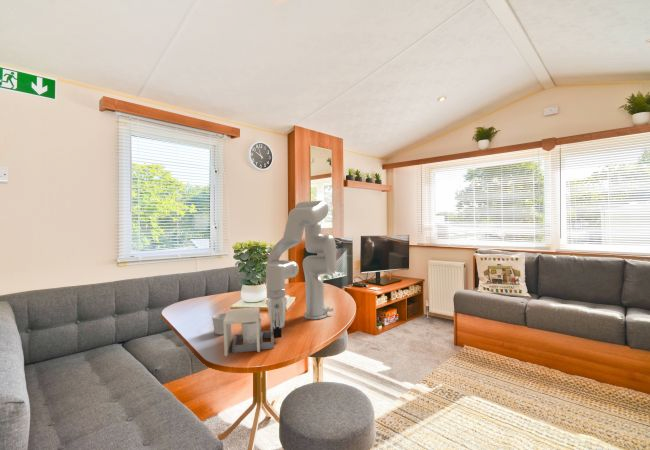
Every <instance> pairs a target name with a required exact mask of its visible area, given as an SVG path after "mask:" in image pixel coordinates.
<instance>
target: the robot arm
mask: <svg viewBox="0 0 650 450" xmlns="http://www.w3.org/2000/svg"><path fill="white" fill-rule="evenodd" d="M294 207H295V208H293V209H291V210H290V211H289V213H288V216H287V220H286V224H285V229H284V232H283V236H282V237H281V238H280V240H279V241H278V242H277V243H276V244H274V246H273V247H272V248H271V250H270V252H269V254H268V257H267V262H266V267H265V280H266V284H265V285H266V298H267V299H270V310H271V318H272V323H274V327H273V337H274V339H280V338H282V328H281V323H280V322H284V307H283V298H284V297H285V298H286V286H285V285H286V283H285V282H286V281H285V280H286V279H287V280H288V279H293V278H295V277H296V276H297V275H298V274H299V269H300V268H299V264H298V263H297V262H295V261H294V260H283V259H282V260H280V258H281V257H282V255H283V254H284V253H285V252H287V251H289V249H292V248H294V247H295V246H297V245H299V244H301V243H302V239H303V234H304V243H305V244H304V246H305V251H306V252H307V253H310V254H313V255H308V256H306V257H304V259H303V260H302V269H303V274H304V284H305V288H304V289H305V310H306V311H305V312H304V313H303V315H302V316H303V318H305V319H306V320H313V321H314V320H322V319H325V318H326V317H328V312H330V313H333V312H334V307H330V306H328V307H327V306H325V288H324V287H325V285H324V279H323V278H322V276H321V275H324V276H325V275H326V276H327V275H331V276H332V275H333V274H334V273H335V272H336V270H337V244H336V239H335V237H334V236H333V235H331V234H322V225H321V223H320V222H322V221H323V220H324V219H325V218H326V217H327V216H328V213H329V205H328V203H327V202H326V201H325V200H311V201H310V200H308V201H307V200H306V201H299V202H298V203H296V204H295V206H294ZM314 254H324V255H314ZM280 320H281V321H280Z"/></svg>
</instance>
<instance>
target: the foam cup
mask: <svg viewBox="0 0 650 450" xmlns="http://www.w3.org/2000/svg"><path fill="white" fill-rule="evenodd" d="M287 301H288V298H287V297H286V296H285V297H284V298H283V307H284V322H280V323H281V329H283V328H284V327H285V321H286V320H285V319H286V310H287V304H288V303H287ZM266 306H267V311H268V316H269V317H268V318H269V321H270V322H269V323H270V328H271V327H274V323H272V318H271V310H270V299H268V298H267V299H266ZM280 321H281V320H280Z"/></svg>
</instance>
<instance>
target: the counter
mask: <svg viewBox="0 0 650 450" xmlns="http://www.w3.org/2000/svg"><path fill="white" fill-rule="evenodd" d="M226 313H227V314H226V316H225V319H224V321H223V327H224V334H223V351H224V353H223V354H224V357H227V356H228V355H229V352H230V347H231V345H232V340H233V338H232V336H233V333H232V325H235V324H237V325H238V324H241V323H247V322H256V334H257V350H256V352H257V353H260V352H261V350H260V341H259V318H260V306H254V307H253V306H252V307H251V306H250V307H242V308H241V307H240V308H229V309H227V311H226ZM260 319H261V318H260Z"/></svg>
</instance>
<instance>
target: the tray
mask: <svg viewBox="0 0 650 450" xmlns="http://www.w3.org/2000/svg"><path fill="white" fill-rule="evenodd" d="M269 329H270V330H267V331H261V338H260V351H261V350H262V351H263V350H270V349H275V344H274V342H275V340H274V339H275V338H274V335H273V327H271V326H270V328H269ZM266 338H267V339H268V338H269V339H270V341H264V340H263V339H266ZM238 341H239V342H240V341H243V336H242V333H238V334H237V333H236V334H234V337H233V342H232V344H231V345H232V346H231V347H232V350H231V353H232V354H235V353H243V352H246V353H247V352H253V351H257V343H253V344H244V345H243V344H237V343H238Z"/></svg>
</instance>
